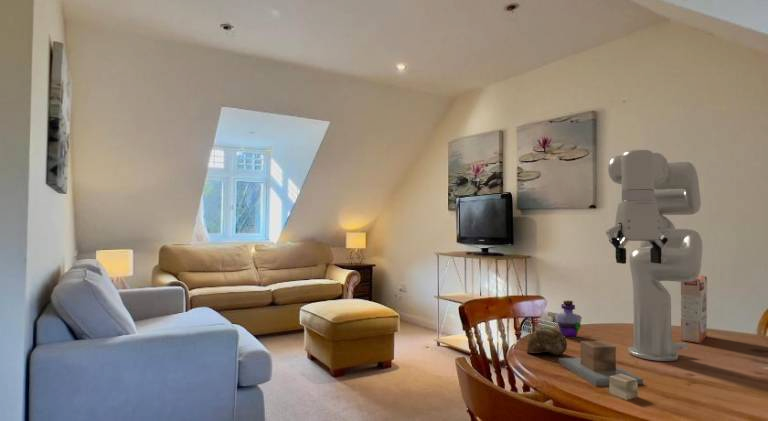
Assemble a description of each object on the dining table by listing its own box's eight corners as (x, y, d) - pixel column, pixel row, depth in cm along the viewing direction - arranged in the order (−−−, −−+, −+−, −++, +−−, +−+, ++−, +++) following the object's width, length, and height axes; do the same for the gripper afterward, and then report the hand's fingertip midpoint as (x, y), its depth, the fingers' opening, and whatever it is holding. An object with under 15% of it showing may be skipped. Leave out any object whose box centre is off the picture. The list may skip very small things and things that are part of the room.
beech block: (621, 391, 103) (621, 373, 104) (637, 397, 100) (637, 379, 100) (609, 394, 102) (609, 376, 102) (625, 400, 98) (625, 381, 98)
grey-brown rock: (570, 353, 133) (570, 326, 133) (562, 361, 125) (561, 332, 126) (532, 347, 140) (532, 321, 140) (522, 354, 132) (522, 327, 132)
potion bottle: (579, 340, 148) (579, 303, 148) (552, 336, 153) (552, 301, 153) (584, 335, 155) (583, 300, 156) (558, 331, 160) (557, 297, 160)
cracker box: (702, 344, 144) (701, 279, 145) (680, 340, 148) (679, 277, 149) (708, 336, 154) (707, 275, 155) (687, 333, 158) (686, 274, 159)
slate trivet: (599, 361, 126) (599, 356, 126) (642, 384, 108) (642, 378, 108) (558, 362, 124) (558, 357, 124) (595, 385, 106) (595, 380, 106)
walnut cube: (601, 363, 119) (601, 340, 120) (615, 370, 113) (615, 346, 114) (580, 364, 119) (580, 341, 119) (593, 371, 113) (593, 347, 113)
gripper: (658, 198, 122) (659, 261, 122) (598, 198, 120) (598, 262, 120) (679, 197, 115) (680, 264, 114) (615, 196, 113) (616, 264, 112)
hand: (638, 263), depth 117 cm, fingers open, 9 cm apart
